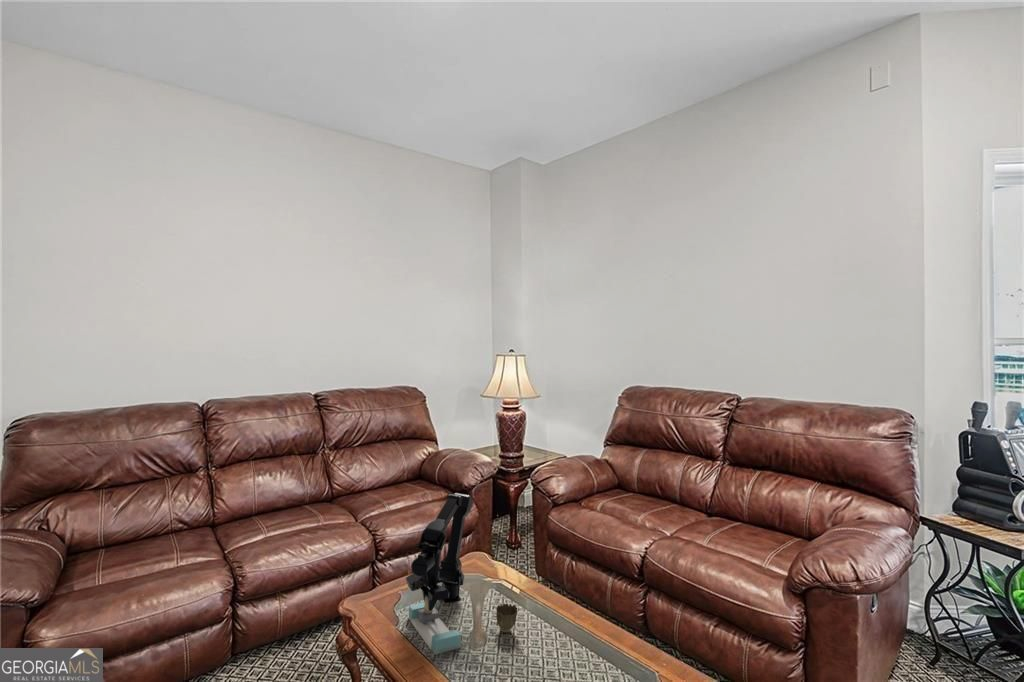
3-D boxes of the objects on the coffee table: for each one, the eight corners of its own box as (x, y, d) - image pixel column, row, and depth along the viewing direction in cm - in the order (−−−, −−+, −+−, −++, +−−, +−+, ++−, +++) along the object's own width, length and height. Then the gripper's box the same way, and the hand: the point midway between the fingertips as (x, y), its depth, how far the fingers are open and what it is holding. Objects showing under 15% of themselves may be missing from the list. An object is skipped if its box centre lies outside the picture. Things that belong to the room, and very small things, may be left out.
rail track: (431, 612, 191) (432, 600, 191) (460, 647, 171) (461, 634, 171) (408, 618, 186) (409, 605, 186) (434, 654, 166) (435, 640, 166)
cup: (494, 624, 186) (496, 602, 186) (514, 625, 187) (516, 603, 187) (495, 637, 179) (497, 613, 179) (516, 637, 179) (518, 614, 179)
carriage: (432, 614, 186) (434, 592, 186) (438, 621, 183) (439, 598, 183) (417, 618, 183) (418, 595, 183) (421, 625, 180) (423, 602, 179)
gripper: (400, 556, 186) (396, 600, 187) (420, 579, 171) (416, 627, 171) (429, 551, 192) (426, 593, 193) (451, 573, 176) (447, 619, 177)
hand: (428, 608), depth 183 cm, fingers closed on carriage, 3 cm apart
